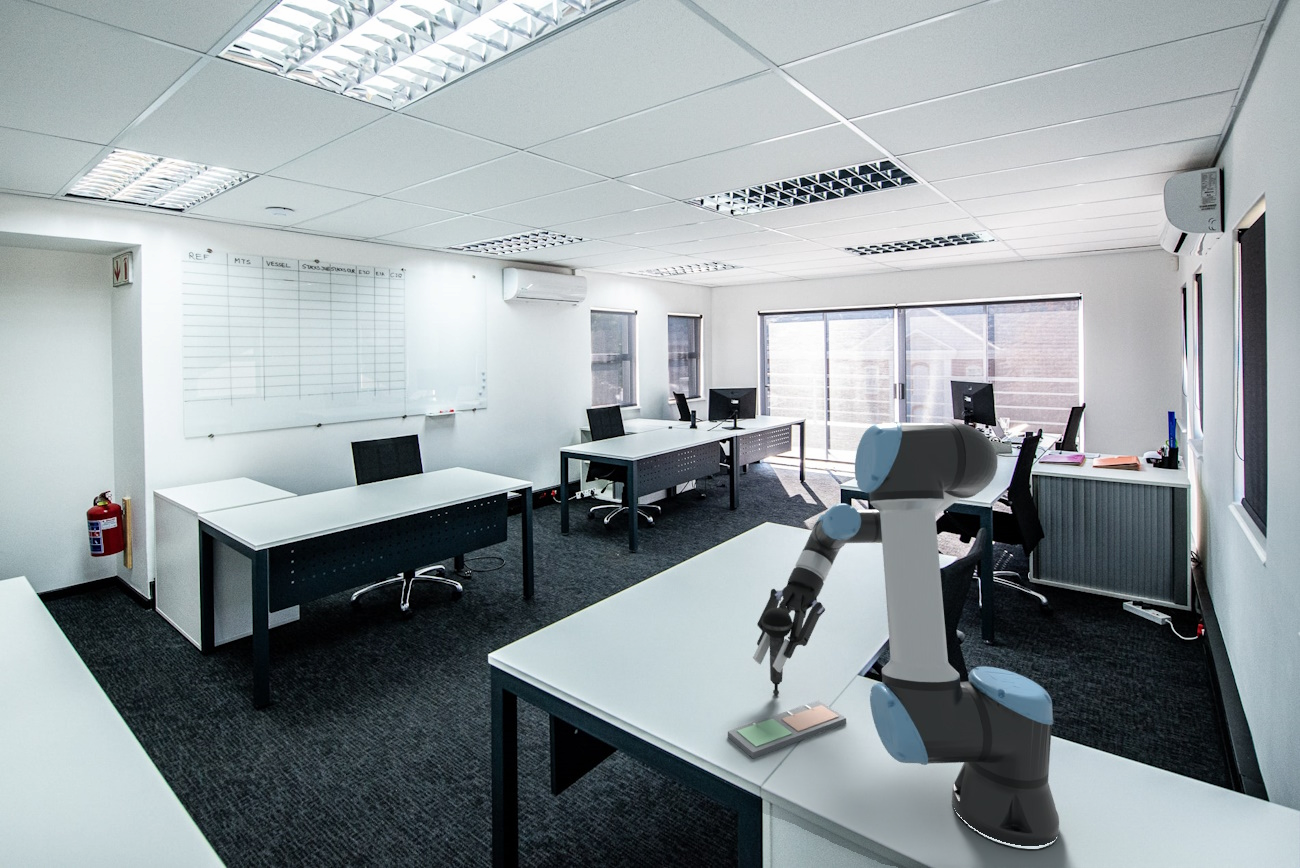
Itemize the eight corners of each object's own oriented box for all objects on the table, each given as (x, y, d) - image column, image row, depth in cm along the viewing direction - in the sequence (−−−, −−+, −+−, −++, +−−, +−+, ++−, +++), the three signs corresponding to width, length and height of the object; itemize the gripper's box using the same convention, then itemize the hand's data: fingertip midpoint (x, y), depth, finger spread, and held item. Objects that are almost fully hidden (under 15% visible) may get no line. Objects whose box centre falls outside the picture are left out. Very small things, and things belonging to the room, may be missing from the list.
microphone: (789, 688, 144) (791, 603, 142) (793, 703, 137) (795, 615, 135) (759, 686, 145) (760, 602, 143) (761, 702, 138) (762, 614, 136)
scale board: (846, 723, 129) (846, 717, 129) (752, 758, 118) (753, 751, 118) (818, 705, 136) (818, 699, 136) (727, 736, 125) (727, 730, 125)
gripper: (849, 592, 143) (808, 687, 133) (783, 574, 156) (741, 659, 146) (837, 574, 139) (794, 671, 129) (771, 558, 151) (727, 644, 142)
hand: (766, 665), depth 137 cm, fingers closed on microphone, 5 cm apart
